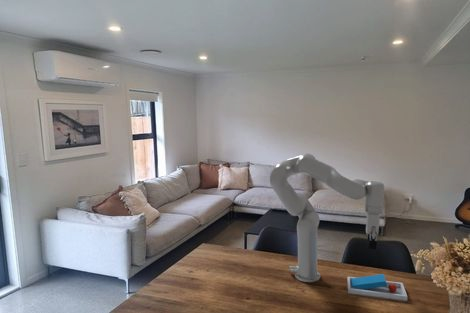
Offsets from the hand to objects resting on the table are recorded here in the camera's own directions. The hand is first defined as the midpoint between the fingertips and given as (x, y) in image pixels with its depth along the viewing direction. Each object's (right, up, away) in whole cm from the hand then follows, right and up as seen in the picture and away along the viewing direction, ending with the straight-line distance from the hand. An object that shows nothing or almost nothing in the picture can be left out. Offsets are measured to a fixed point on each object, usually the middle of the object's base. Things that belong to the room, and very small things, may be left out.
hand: (371, 244), depth 153 cm
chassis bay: (+1, -21, -2) cm, 21 cm away
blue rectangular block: (0, -20, -1) cm, 20 cm away
